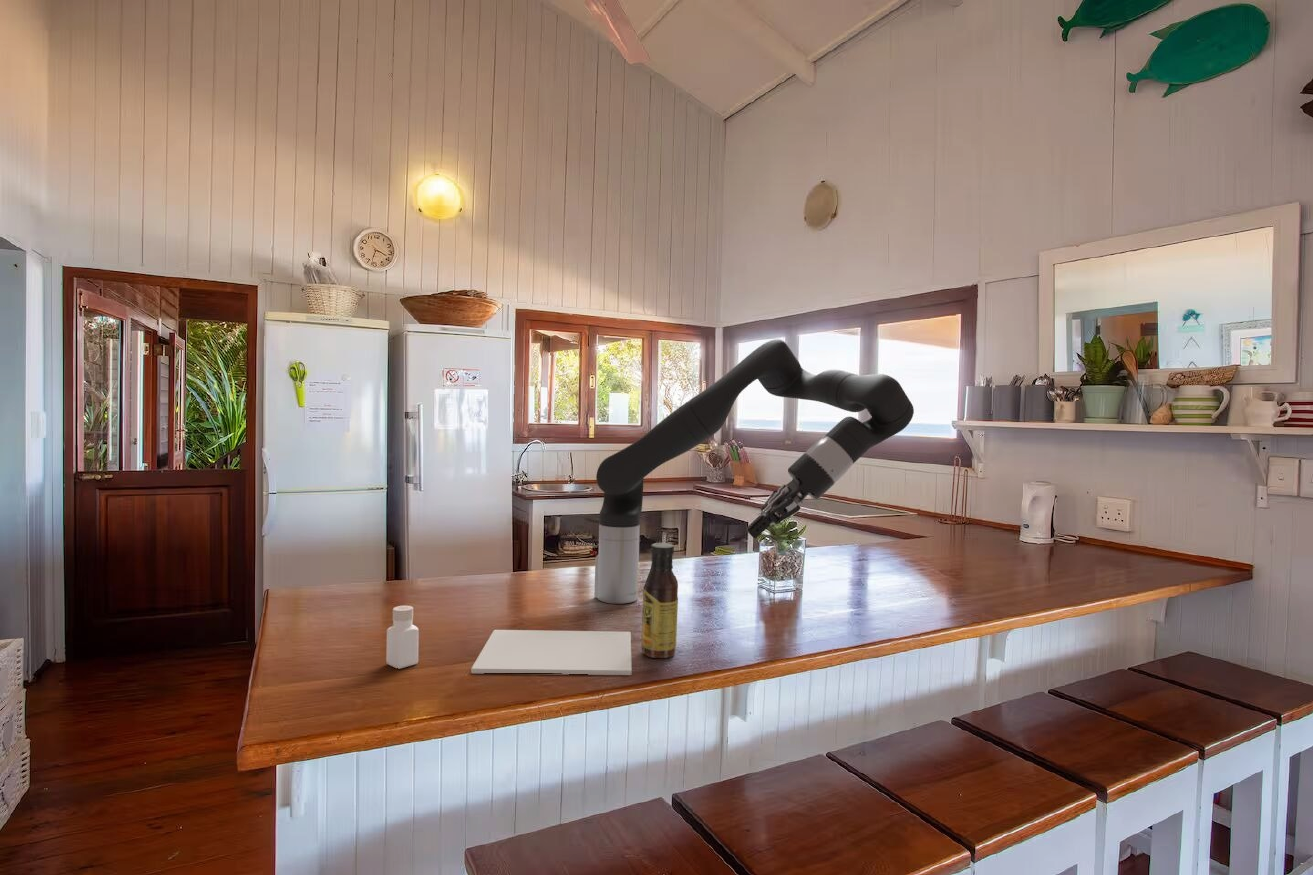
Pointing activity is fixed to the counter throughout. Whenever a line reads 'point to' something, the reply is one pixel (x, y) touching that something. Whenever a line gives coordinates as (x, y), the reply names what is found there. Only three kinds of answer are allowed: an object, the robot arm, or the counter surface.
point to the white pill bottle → (402, 639)
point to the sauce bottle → (660, 604)
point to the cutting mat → (556, 652)
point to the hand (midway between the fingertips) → (750, 534)
